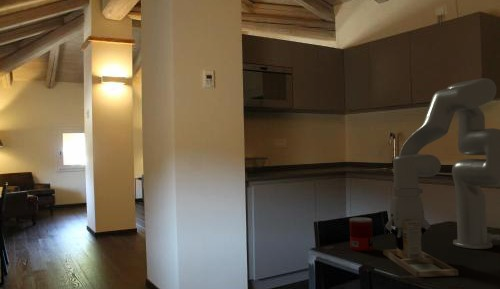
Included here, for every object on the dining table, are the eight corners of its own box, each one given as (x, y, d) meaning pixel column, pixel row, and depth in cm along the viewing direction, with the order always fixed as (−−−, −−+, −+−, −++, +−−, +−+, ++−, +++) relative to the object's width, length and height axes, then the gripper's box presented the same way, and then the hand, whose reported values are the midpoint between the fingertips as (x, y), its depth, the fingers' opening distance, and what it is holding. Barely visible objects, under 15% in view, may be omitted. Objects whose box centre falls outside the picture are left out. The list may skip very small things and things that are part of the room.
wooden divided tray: (417, 253, 136) (417, 248, 136) (458, 275, 111) (458, 270, 111) (383, 254, 135) (383, 249, 135) (416, 277, 110) (416, 271, 110)
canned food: (374, 252, 139) (373, 220, 139) (350, 251, 140) (349, 220, 140) (372, 247, 146) (371, 217, 146) (349, 246, 148) (348, 217, 148)
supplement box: (396, 255, 133) (394, 217, 133) (409, 255, 133) (408, 216, 134) (407, 262, 125) (406, 221, 125) (422, 261, 125) (420, 220, 125)
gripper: (426, 191, 133) (428, 245, 133) (376, 192, 133) (378, 246, 133) (437, 193, 126) (439, 250, 126) (385, 195, 125) (387, 252, 125)
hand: (408, 248), depth 129 cm, fingers closed on supplement box, 5 cm apart
